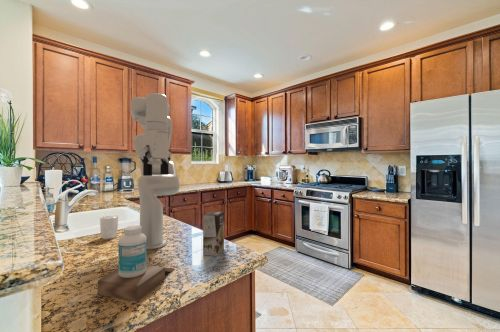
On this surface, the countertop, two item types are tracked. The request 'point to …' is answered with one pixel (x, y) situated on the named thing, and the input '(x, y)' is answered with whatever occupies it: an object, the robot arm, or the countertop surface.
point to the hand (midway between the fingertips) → (156, 175)
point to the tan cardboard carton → (132, 283)
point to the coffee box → (213, 233)
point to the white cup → (109, 226)
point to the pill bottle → (132, 252)
